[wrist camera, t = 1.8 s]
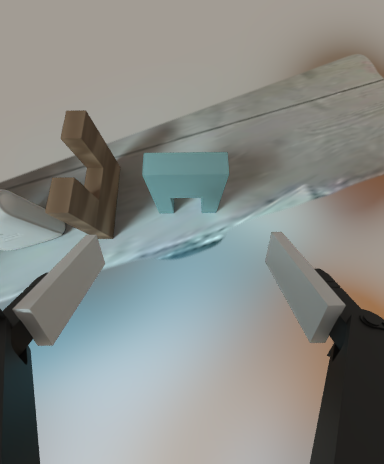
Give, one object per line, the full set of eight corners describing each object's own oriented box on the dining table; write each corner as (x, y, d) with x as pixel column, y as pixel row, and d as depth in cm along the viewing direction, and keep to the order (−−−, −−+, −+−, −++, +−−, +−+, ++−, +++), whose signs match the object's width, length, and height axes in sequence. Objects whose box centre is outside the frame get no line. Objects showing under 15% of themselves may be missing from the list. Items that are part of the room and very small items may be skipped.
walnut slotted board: (98, 238, 32) (44, 213, 20) (107, 167, 36) (66, 110, 24) (112, 238, 32) (68, 212, 20) (120, 167, 36) (85, 110, 24)
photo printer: (5, 255, 31) (-111, 236, 19) (4, 231, 32) (-106, 200, 20) (68, 237, 32) (-6, 209, 20) (64, 214, 33) (-7, 175, 21)
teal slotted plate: (159, 213, 33) (142, 175, 22) (160, 197, 34) (143, 153, 22) (216, 212, 33) (229, 174, 22) (215, 197, 34) (227, 152, 22)
